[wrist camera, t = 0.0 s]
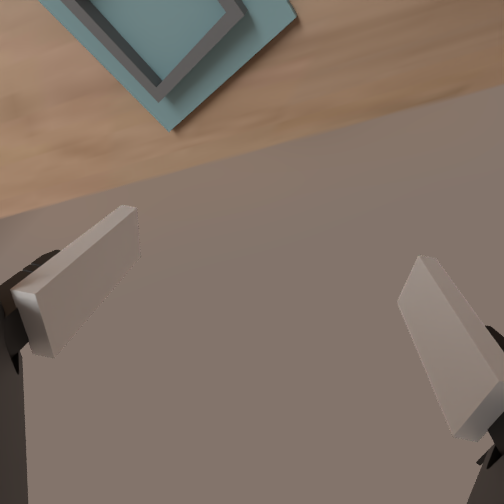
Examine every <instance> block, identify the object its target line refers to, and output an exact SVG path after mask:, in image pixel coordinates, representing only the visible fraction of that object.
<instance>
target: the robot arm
mask: <svg viewBox="0 0 504 504" xmlns="http://www.w3.org/2000/svg"><path fill="white" fill-rule="evenodd" d="M140 257H141V252H140V239H139V226H138V212H137V208H136V207H130V206H124V205H121V206H120V207H118V208H117V209H116V210H114V211H113V212H112V213H110V214H109V215H108V216H106V217H105V218H104V219H102V220H101V221H100V222H99V223H97V224H96V225H94V226H93V227H92V228H90V229H89V230H88V231H87V232H85V233H84V234H83V235H81V236H80V237H79V238H77V239H76V240H75V241H73V242H72V243H71V244H69V245H68V246H67V247H65V248H64V249H63V250H61V251H60V250H54V251H52V252H49V253H47V254H44V255H42V256H41V257H39V258H38V259H36V260H35V261H34V262H32V263H31V265H28V266H27V267H25V268H24V269H23V271H20V272H18V273H17V274H15V275H14V276H13V277H11V278H10V279H9V280H7V281H6V282H4V283H3V284H2V285H0V504H28V488H27V464H26V439H25V415H24V391H23V368H22V356H21V353H20V349H22V348H23V347H24V346H25V344H26V343H28V342H29V345H30V348H31V350H32V353H33V354H36V355H41V356H45V357H51V358H55V357H56V356H57V355H58V353H59V352H60V351H61V350H62V349H63V347H64V346H65V345H66V344H67V343H68V342H69V341H70V339H71V338H72V337H73V336H74V335H75V333H76V332H77V331H78V330H79V329H80V328H81V326H82V325H83V324H84V323H85V322H86V321H87V319H88V318H89V317H90V316H91V315H92V314H93V312H94V311H95V310H96V309H97V308H98V306H99V305H100V304H101V303H102V302H103V301H104V299H105V298H106V297H107V296H108V295H109V294H110V292H111V291H112V290H113V289H114V288H115V287H116V285H117V284H118V283H119V282H120V281H121V280H122V278H123V277H124V276H125V275H126V274H127V272H128V271H129V270H130V269H131V268H132V267H133V265H134V264H135V263H136V262H137V261H138V260H139V258H140ZM397 304H398V306H399V309H400V311H401V314H402V316H403V319H404V321H405V323H406V326H407V328H408V331H409V333H410V335H411V338H412V340H413V343H414V345H415V347H416V349H417V352H418V354H419V357H420V359H421V362H422V364H423V367H424V369H425V371H426V374H427V376H428V379H429V381H430V383H431V386H432V388H433V391H434V393H435V396H436V398H437V400H438V402H439V405H440V407H441V410H442V412H443V415H444V417H445V419H446V422H447V424H448V427H449V429H450V432H451V434H452V436H453V437H455V438H461V439H465V440H470V441H475V442H478V441H479V440H480V439H481V438H482V437H483V436H484V435H485V433H486V432H487V431H488V432H489V433H490V435H491V437H492V439H493V441H494V443H495V444H494V445H493V446H492V447H491V448H490V449H489V450H488V451H487V452H486V453H485V454H484V455H483V456H482V457H481V458H480V459H479V460H478V461H477V462H476V463H477V464H479V465H481V464H482V463H483V465H482V468H481V470H480V472H479V475H478V477H477V479H476V482H475V485H474V487H473V489H472V492H471V494H470V497H469V499H468V502H467V504H504V337H503V336H502V335H501V334H499V333H498V332H497V331H495V329H493V328H492V327H491V326H485V325H484V324H483V323H482V321H481V320H480V319H479V317H478V316H477V314H476V313H475V312H474V310H473V309H472V308H471V306H470V305H469V303H468V302H467V301H466V299H465V298H464V297H463V295H462V294H461V292H460V291H459V289H458V288H457V287H456V285H455V284H454V283H453V281H452V280H451V278H450V277H449V276H448V274H447V273H446V271H445V270H444V269H443V267H442V266H441V264H440V263H439V262H438V261H437V259H436V258H433V257H427V256H420V255H419V256H418V258H417V260H416V262H415V264H414V266H413V268H412V271H411V273H410V275H409V277H408V279H407V281H406V283H405V285H404V288H403V290H402V292H401V294H400V296H399V298H398V300H397Z"/></svg>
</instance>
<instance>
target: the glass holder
mask: <svg viewBox="0 0 504 504" xmlns="http://www.w3.org/2000/svg"><path fill="white" fill-rule="evenodd" d="M38 1H39V2H40V3H41V4H42V5H43V6H44V7H45V8H46V9H47V10H48V11H49V12H50V13H51V14H52V15H53V16H54V17H55V18H56V19H57V20H58V21H59V22H60V23H61V24H62V25H63V26H64V27H65V28H66V29H67V30H68V31H69V32H70V33H71V34H72V35H73V36H74V37H75V38H76V39H77V40H78V41H79V42H80V43H81V44H82V45H83V46H84V47H85V48H86V49H87V50H88V51H89V52H90V53H91V54H92V55H93V56H94V57H95V58H96V59H97V60H98V61H99V62H100V63H101V64H102V65H103V66H104V67H105V68H106V69H107V70H108V71H109V72H110V73H111V74H112V75H113V76H114V77H115V78H116V79H117V80H118V81H119V82H120V83H121V84H122V85H123V86H124V87H125V88H126V89H127V90H128V91H129V92H130V93H131V94H132V95H133V96H134V97H135V98H136V99H137V100H138V101H139V102H140V103H141V104H142V105H143V106H144V107H145V108H146V109H147V110H148V111H149V112H150V113H151V114H152V115H153V116H154V117H155V118H156V119H157V120H158V121H159V122H160V123H161V124H162V125H163V126H164V127H165V128H166V129H167V131H168V132H170V131H171V130H172V129H173V128H174V127H175V126H176V125H177V124H178V123H180V122H181V121H182V120H183V119H184V118H185V117H186V116H187V115H188V114H190V113H191V112H192V111H193V110H194V109H195V108H196V107H197V106H198V105H199V104H201V103H202V102H203V101H204V100H205V99H206V98H207V97H208V96H209V95H211V94H212V93H213V92H214V91H215V90H216V89H217V88H218V87H219V86H221V85H222V84H223V83H224V82H225V81H226V80H227V79H228V78H229V77H231V76H232V75H233V74H234V73H235V72H236V71H237V70H238V69H239V68H241V67H242V66H243V65H244V64H245V63H246V62H247V61H248V60H249V59H251V58H252V57H253V56H254V55H255V54H256V53H257V52H258V51H259V50H261V49H262V48H263V47H264V46H265V45H266V44H267V43H268V42H269V41H271V40H272V39H273V38H274V37H275V36H276V35H277V34H278V33H279V32H280V31H282V30H283V29H284V28H285V27H286V26H287V25H288V24H289V23H290V22H292V21H293V20H294V19H295V18H296V17H297V13H296V12H295V10H294V8H293V7H292V5H291V3H290V1H289V0H38Z"/></svg>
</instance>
